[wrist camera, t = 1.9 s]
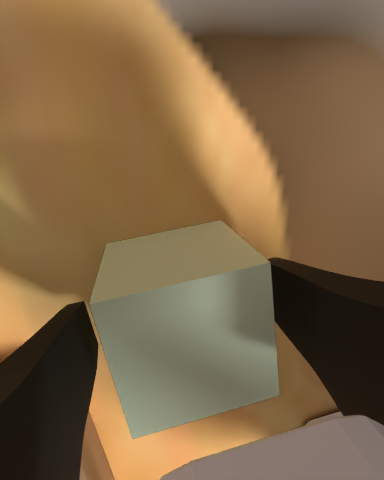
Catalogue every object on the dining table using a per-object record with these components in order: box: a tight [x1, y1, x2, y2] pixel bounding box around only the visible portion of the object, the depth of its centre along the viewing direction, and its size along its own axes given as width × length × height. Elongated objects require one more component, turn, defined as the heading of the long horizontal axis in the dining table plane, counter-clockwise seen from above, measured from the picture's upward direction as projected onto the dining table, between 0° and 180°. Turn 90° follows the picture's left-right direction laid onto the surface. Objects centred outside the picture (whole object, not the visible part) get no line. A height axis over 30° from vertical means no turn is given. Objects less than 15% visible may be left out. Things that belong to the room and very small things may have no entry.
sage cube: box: [89, 220, 280, 439], centre depth 11 cm, size 5×5×5 cm
